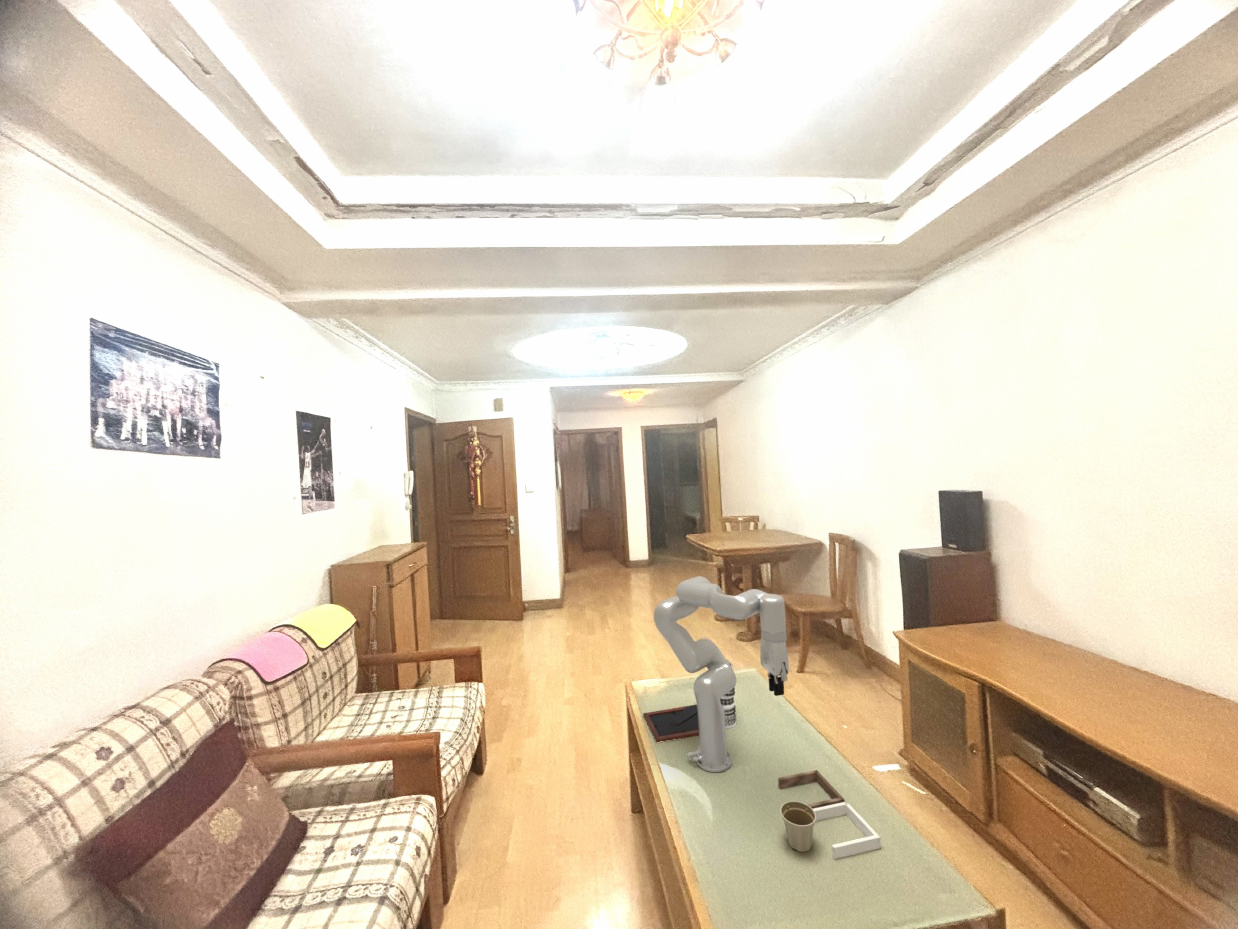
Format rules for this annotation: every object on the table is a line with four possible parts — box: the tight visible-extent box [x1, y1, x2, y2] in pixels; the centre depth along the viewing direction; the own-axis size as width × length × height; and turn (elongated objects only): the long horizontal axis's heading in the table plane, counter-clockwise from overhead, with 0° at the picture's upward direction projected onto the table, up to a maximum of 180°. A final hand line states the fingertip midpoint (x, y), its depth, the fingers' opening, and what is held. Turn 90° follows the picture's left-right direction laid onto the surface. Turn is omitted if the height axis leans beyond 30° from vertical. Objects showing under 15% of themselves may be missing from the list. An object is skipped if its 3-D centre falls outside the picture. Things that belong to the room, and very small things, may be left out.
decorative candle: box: [720, 659, 737, 729], centre depth 195 cm, size 9×9×25 cm
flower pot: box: [779, 800, 817, 853], centre depth 134 cm, size 9×9×9 cm
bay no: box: [777, 769, 846, 809], centre depth 151 cm, size 14×14×3 cm
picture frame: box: [642, 703, 699, 743], centre depth 197 cm, size 20×2×25 cm
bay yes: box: [813, 801, 882, 860], centre depth 136 cm, size 14×14×3 cm
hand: (776, 692), depth 152 cm, fingers closed
